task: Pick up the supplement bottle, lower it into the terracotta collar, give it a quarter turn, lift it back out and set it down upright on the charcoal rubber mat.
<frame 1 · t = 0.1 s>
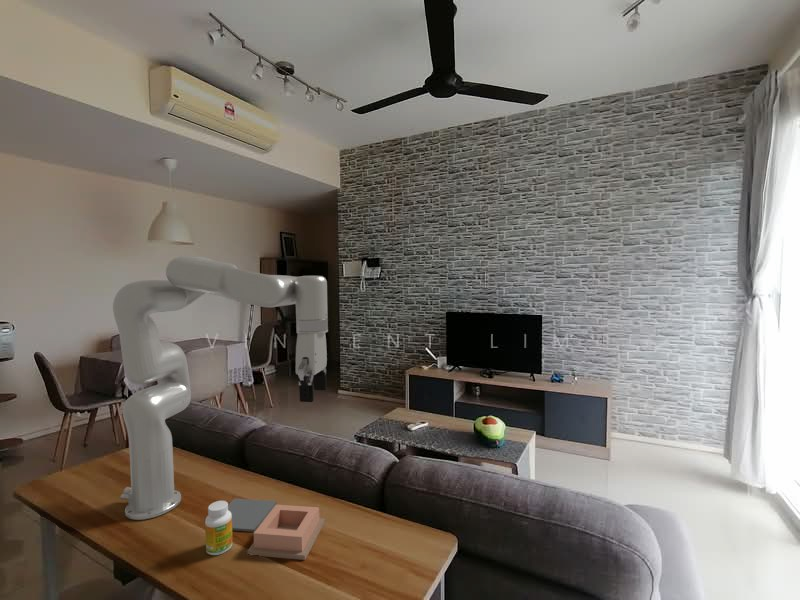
hand: (313, 395, 96), 31 cm above the table, tool pointing down, fingers open, 9 cm apart
supplement bottle: (219, 548, 87), on the table
collar block: (288, 537, 90), on the table
rubber mat: (243, 515, 99), on the table
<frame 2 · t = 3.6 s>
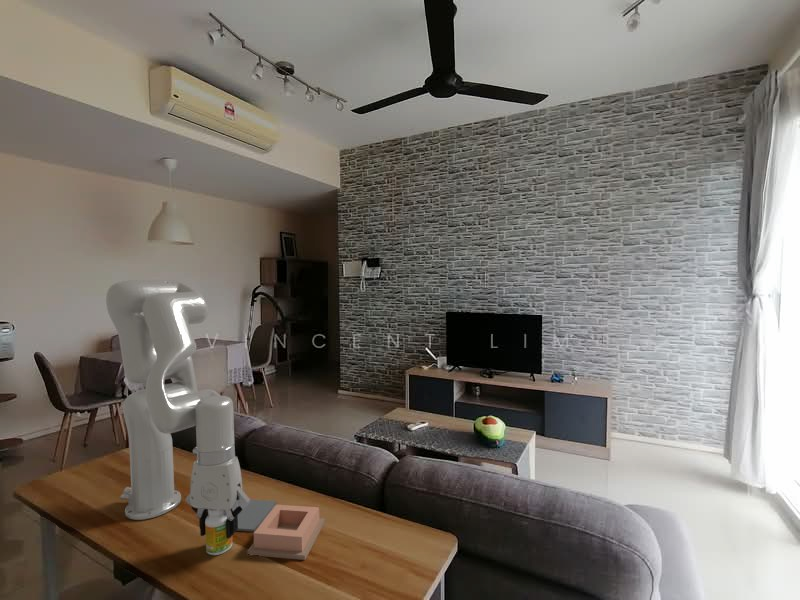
hand: (219, 532, 87), 4 cm above the table, tool pointing down, fingers closed on supplement bottle, 5 cm apart
supplement bottle: (219, 548, 87), on the table, touching gripper
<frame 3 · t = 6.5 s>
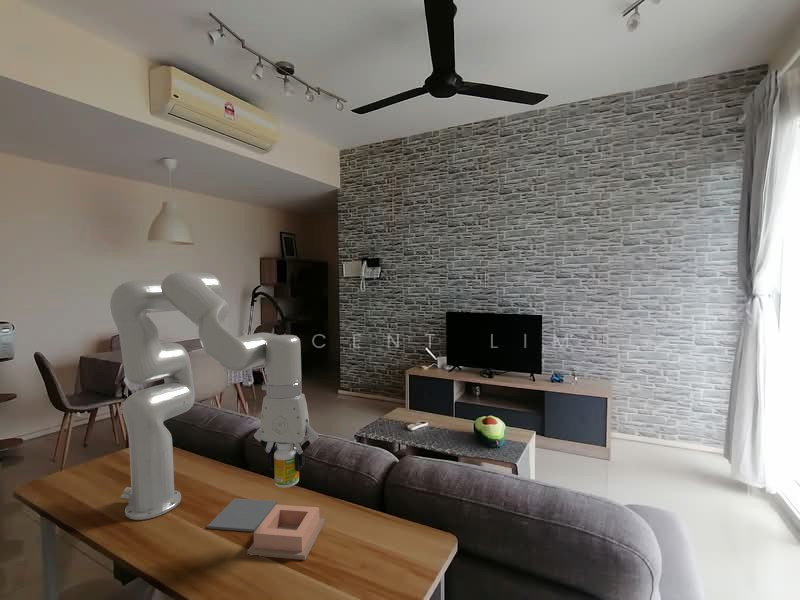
hand: (286, 467, 89), 17 cm above the table, tool pointing down, fingers closed on supplement bottle, 5 cm apart
supplement bottle: (287, 482, 89), point 13 cm above the table, touching gripper
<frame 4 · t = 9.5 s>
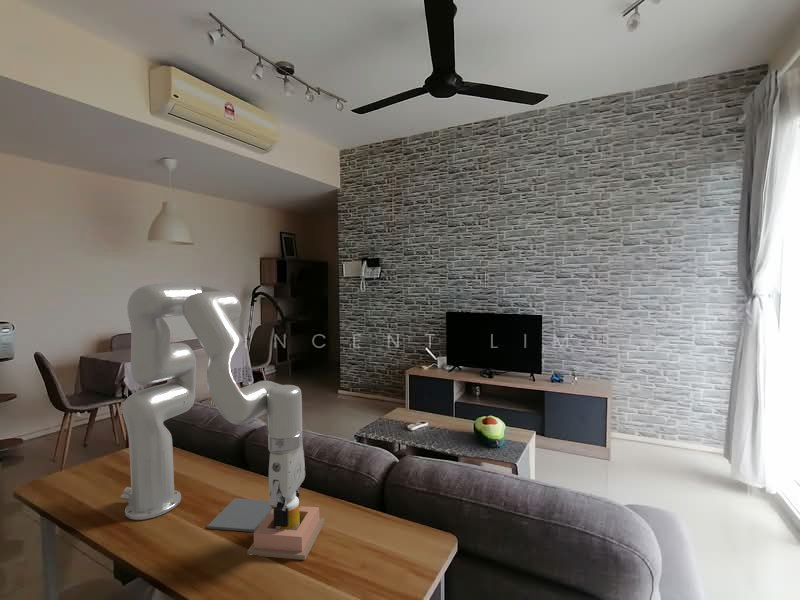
hand: (287, 516, 90), 5 cm above the table, tool pointing down, fingers closed on supplement bottle, 5 cm apart
supplement bottle: (287, 532, 90), point 1 cm above the table, touching gripper
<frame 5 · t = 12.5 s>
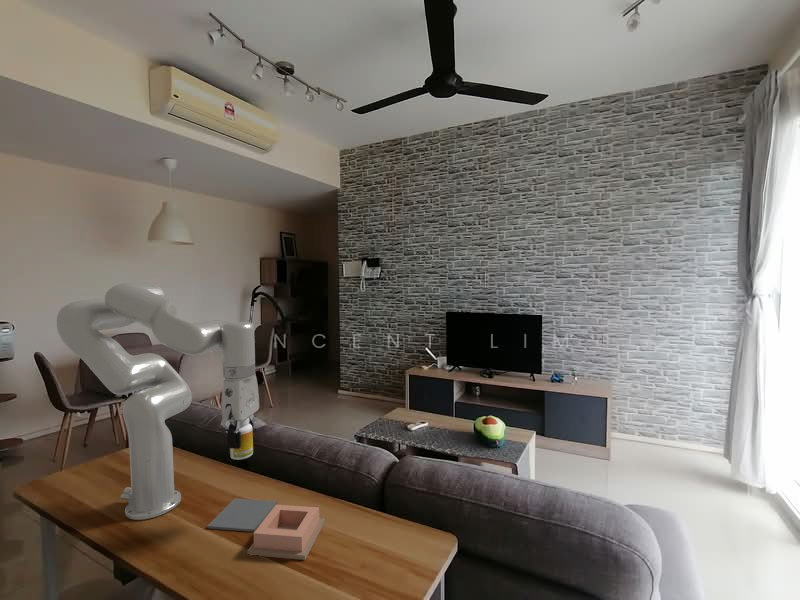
hand: (241, 441, 98), 19 cm above the table, tool pointing down, fingers closed on supplement bottle, 5 cm apart
supplement bottle: (241, 456, 98), point 15 cm above the table, touching gripper
when the fingers open (5 cm above the table, at t = 15.4 s): supplement bottle drops 1 cm, resting on rubber mat.
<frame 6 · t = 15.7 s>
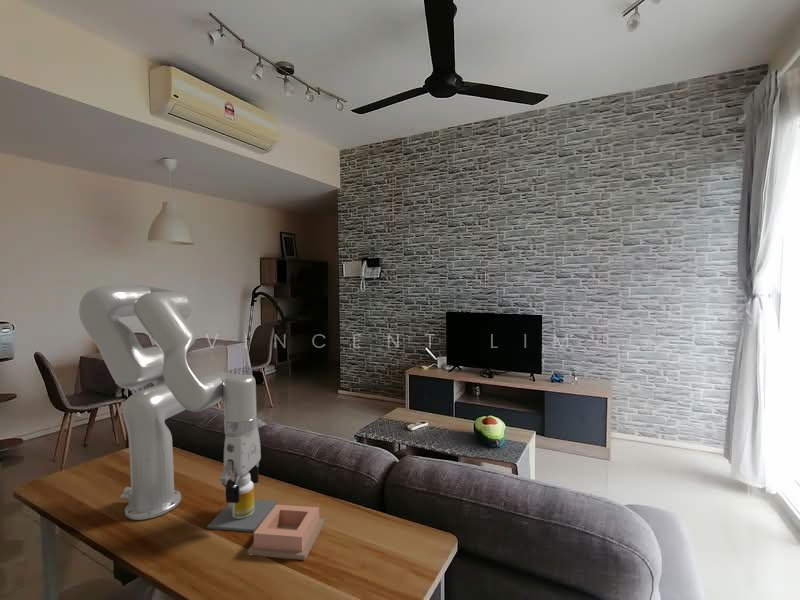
hand: (243, 491, 99), 6 cm above the table, tool pointing down, fingers open, 8 cm apart
supplement bottle: (243, 513, 99), resting on rubber mat
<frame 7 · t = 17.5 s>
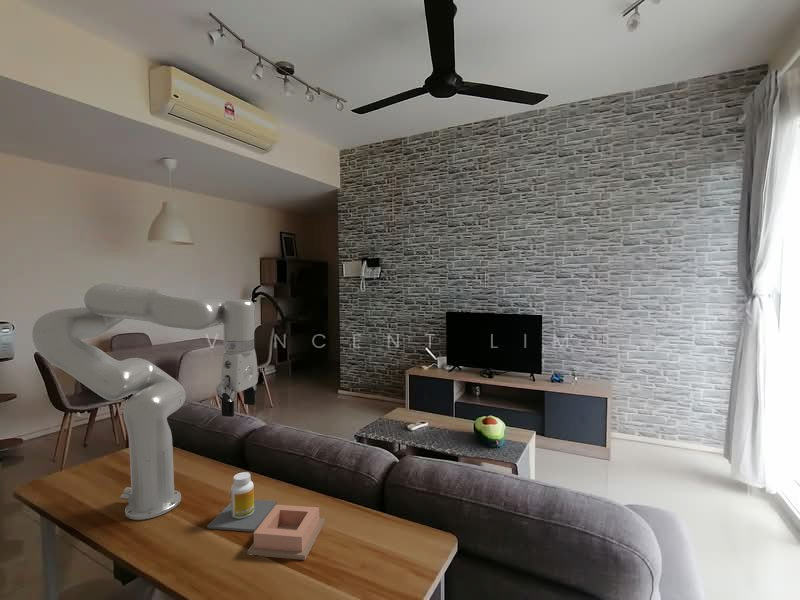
hand: (239, 409, 104), 25 cm above the table, tool pointing down, fingers open, 9 cm apart
nothing on the table moved.
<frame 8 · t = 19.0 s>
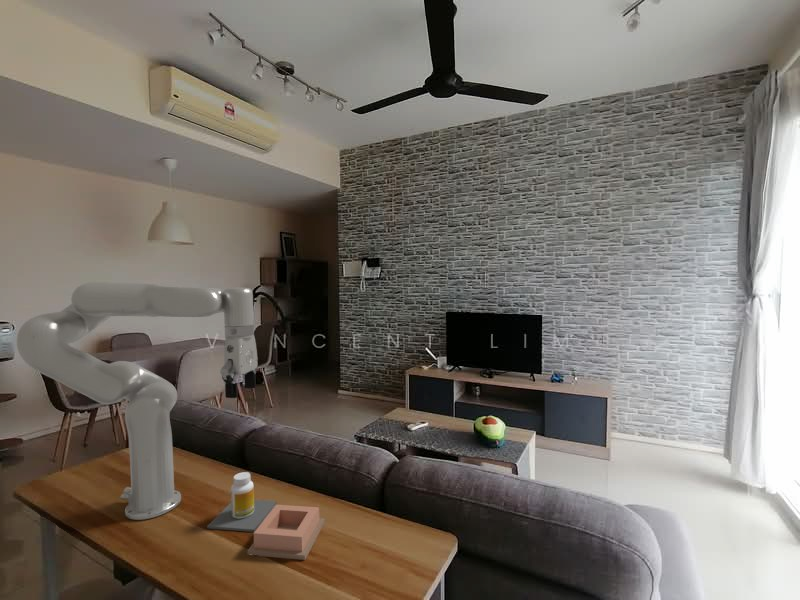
hand: (241, 392, 109), 28 cm above the table, tool pointing down, fingers open, 9 cm apart
nothing on the table moved.
at the end: supplement bottle inside the target area on the rubber mat (0.1 cm from its centre), point 0.4 cm above the rubber mat's base; supplement bottle tilted 0°; the gripper is holding nothing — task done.
